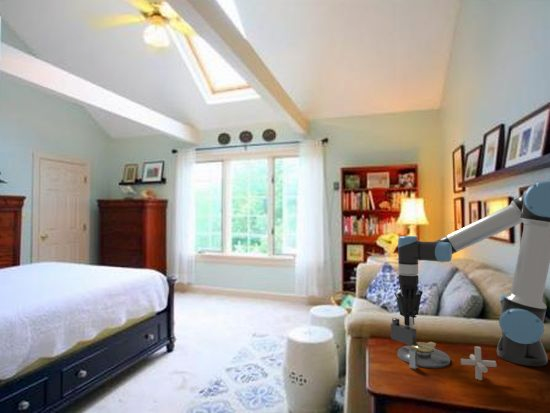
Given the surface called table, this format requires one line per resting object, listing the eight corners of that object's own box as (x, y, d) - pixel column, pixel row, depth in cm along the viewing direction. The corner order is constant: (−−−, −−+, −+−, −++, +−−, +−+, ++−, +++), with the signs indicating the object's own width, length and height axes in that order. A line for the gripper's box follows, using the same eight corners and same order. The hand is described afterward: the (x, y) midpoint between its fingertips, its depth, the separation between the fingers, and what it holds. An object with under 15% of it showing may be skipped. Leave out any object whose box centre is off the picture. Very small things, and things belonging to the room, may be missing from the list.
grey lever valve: (443, 348, 125) (442, 326, 126) (421, 356, 119) (421, 333, 119) (403, 335, 140) (402, 315, 141) (382, 341, 133) (381, 320, 134)
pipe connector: (503, 387, 102) (501, 354, 103) (467, 384, 104) (466, 352, 105) (489, 373, 112) (488, 342, 113) (456, 370, 114) (456, 341, 115)
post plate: (460, 360, 122) (459, 343, 123) (425, 374, 111) (425, 356, 112) (416, 345, 138) (416, 330, 138) (382, 356, 127) (382, 340, 127)
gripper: (413, 271, 141) (414, 328, 140) (389, 273, 136) (390, 332, 135) (427, 274, 134) (429, 334, 133) (402, 276, 129) (403, 338, 128)
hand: (409, 333), depth 134 cm, fingers closed
